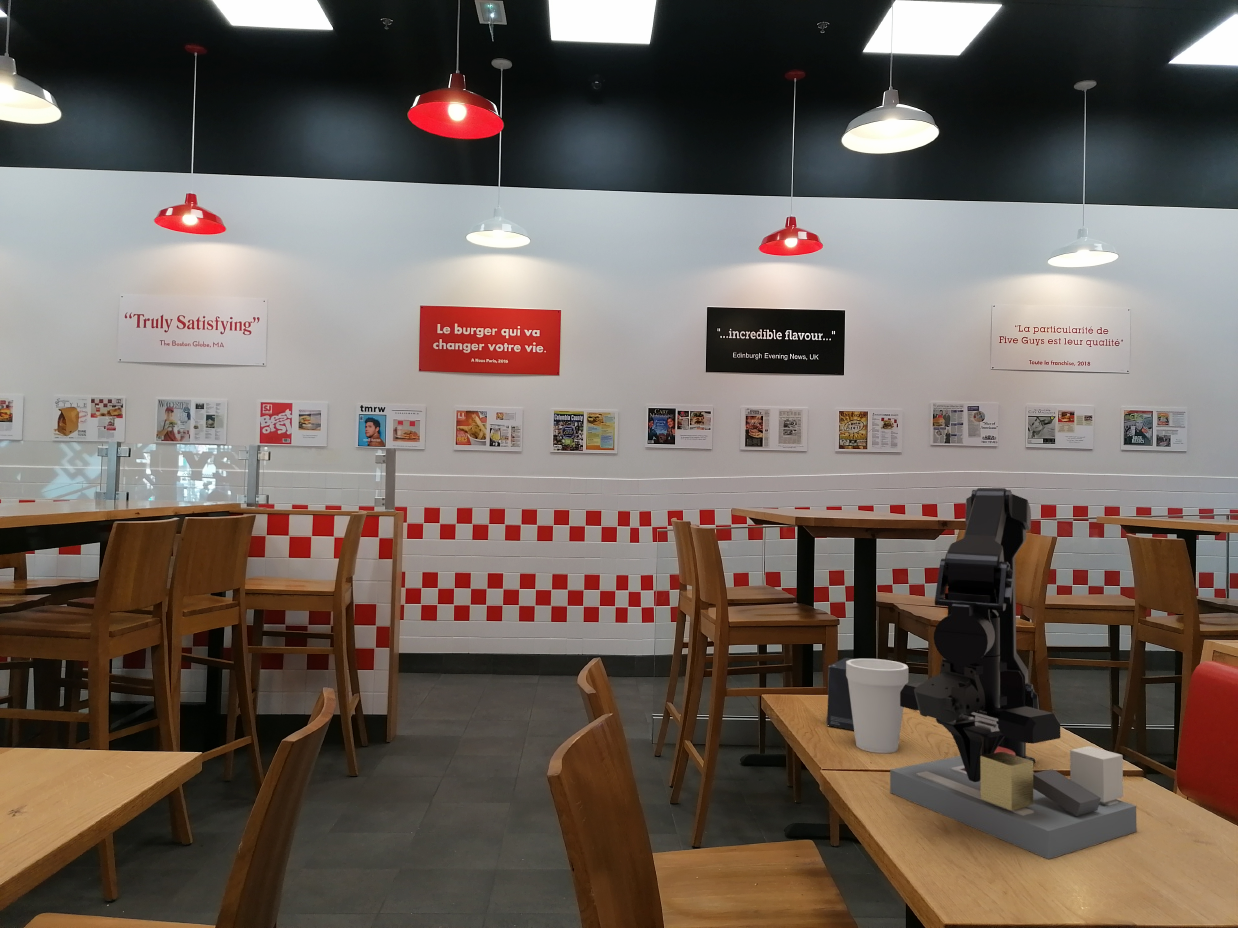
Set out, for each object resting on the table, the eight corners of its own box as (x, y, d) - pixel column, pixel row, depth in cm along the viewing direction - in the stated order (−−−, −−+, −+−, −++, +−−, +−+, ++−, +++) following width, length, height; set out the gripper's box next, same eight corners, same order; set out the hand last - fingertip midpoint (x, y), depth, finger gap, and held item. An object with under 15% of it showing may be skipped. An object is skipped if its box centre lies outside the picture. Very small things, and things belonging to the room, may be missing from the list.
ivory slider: (1089, 786, 98) (1089, 745, 98) (1123, 796, 95) (1122, 754, 95) (1070, 791, 96) (1070, 749, 97) (1103, 802, 93) (1103, 759, 93)
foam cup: (912, 758, 119) (912, 671, 120) (848, 753, 121) (849, 668, 122) (902, 740, 128) (902, 660, 129) (844, 735, 130) (844, 656, 131)
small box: (863, 733, 132) (864, 670, 133) (825, 726, 136) (826, 665, 136) (879, 719, 141) (879, 660, 142) (843, 713, 145) (843, 656, 145)
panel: (974, 774, 112) (974, 750, 113) (1136, 831, 93) (1136, 802, 93) (890, 792, 104) (890, 767, 105) (1048, 859, 85) (1048, 828, 85)
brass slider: (1002, 793, 95) (1002, 751, 95) (1033, 804, 92) (1033, 760, 92) (980, 798, 93) (980, 755, 93) (1011, 810, 90) (1011, 765, 90)
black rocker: (1049, 780, 96) (1052, 768, 96) (1097, 809, 91) (1100, 797, 91) (1028, 785, 94) (1032, 773, 94) (1076, 815, 89) (1080, 803, 89)
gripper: (869, 644, 101) (869, 766, 100) (1000, 672, 85) (1001, 819, 84) (929, 639, 107) (928, 755, 106) (1062, 664, 90) (1063, 802, 89)
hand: (974, 780), depth 96 cm, fingers closed
